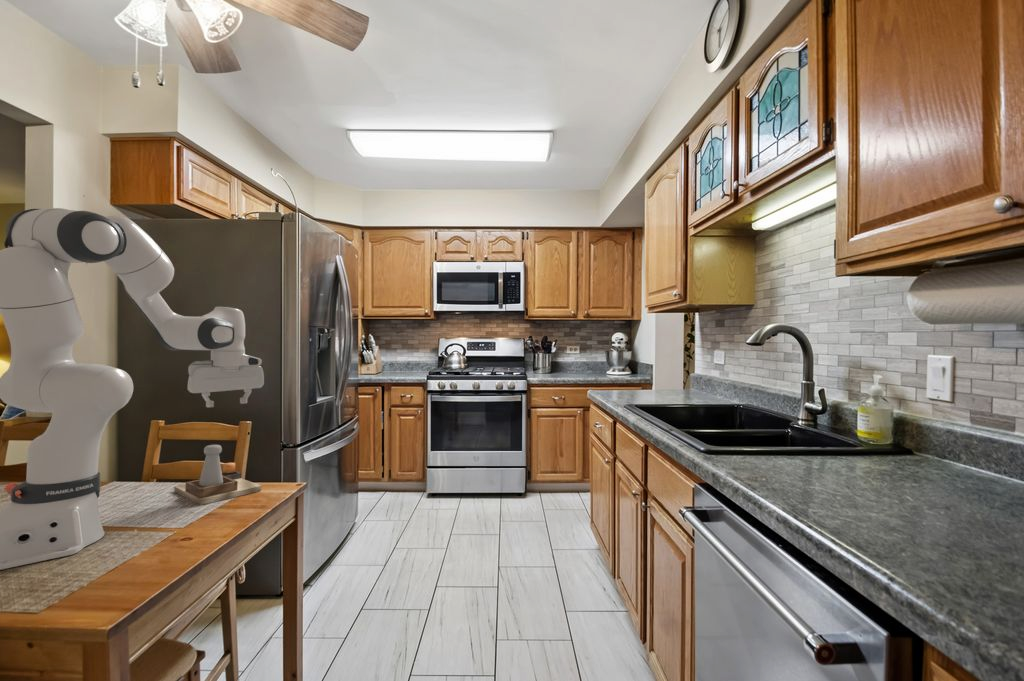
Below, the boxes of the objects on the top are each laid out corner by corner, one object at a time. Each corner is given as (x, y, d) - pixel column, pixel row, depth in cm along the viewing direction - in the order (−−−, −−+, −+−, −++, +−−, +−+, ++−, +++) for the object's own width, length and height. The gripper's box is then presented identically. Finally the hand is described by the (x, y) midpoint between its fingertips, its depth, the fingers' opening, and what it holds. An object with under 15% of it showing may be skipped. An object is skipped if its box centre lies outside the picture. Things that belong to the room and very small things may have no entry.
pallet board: (200, 505, 122) (201, 490, 122) (174, 491, 132) (174, 477, 132) (261, 490, 135) (261, 477, 135) (232, 479, 146) (233, 466, 146)
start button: (225, 473, 140) (226, 465, 140) (221, 471, 141) (221, 463, 141) (236, 471, 142) (237, 463, 142) (232, 469, 144) (232, 462, 144)
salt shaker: (202, 495, 126) (205, 448, 126) (195, 490, 129) (197, 445, 129) (226, 490, 130) (228, 445, 130) (218, 486, 134) (220, 442, 134)
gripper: (193, 361, 127) (192, 410, 127) (266, 359, 144) (266, 402, 144) (184, 360, 130) (183, 408, 131) (257, 358, 147) (256, 400, 147)
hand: (227, 405), depth 137 cm, fingers open, 8 cm apart
